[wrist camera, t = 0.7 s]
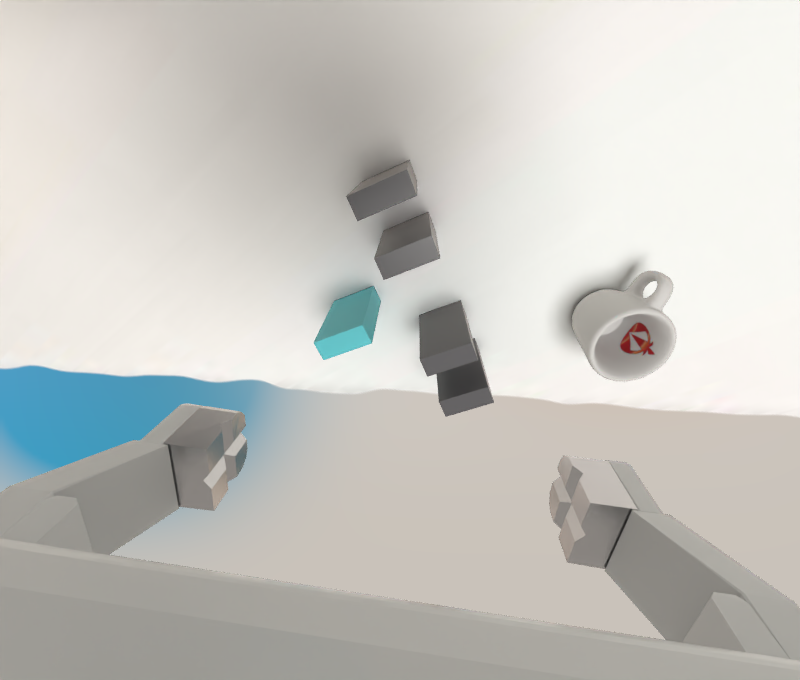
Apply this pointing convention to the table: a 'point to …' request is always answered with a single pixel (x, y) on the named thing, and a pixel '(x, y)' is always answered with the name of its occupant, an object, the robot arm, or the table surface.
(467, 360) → the domino
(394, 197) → the domino
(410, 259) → the domino
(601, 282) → the table surface
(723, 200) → the table surface
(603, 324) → the cup
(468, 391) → the domino
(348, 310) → the domino teal
